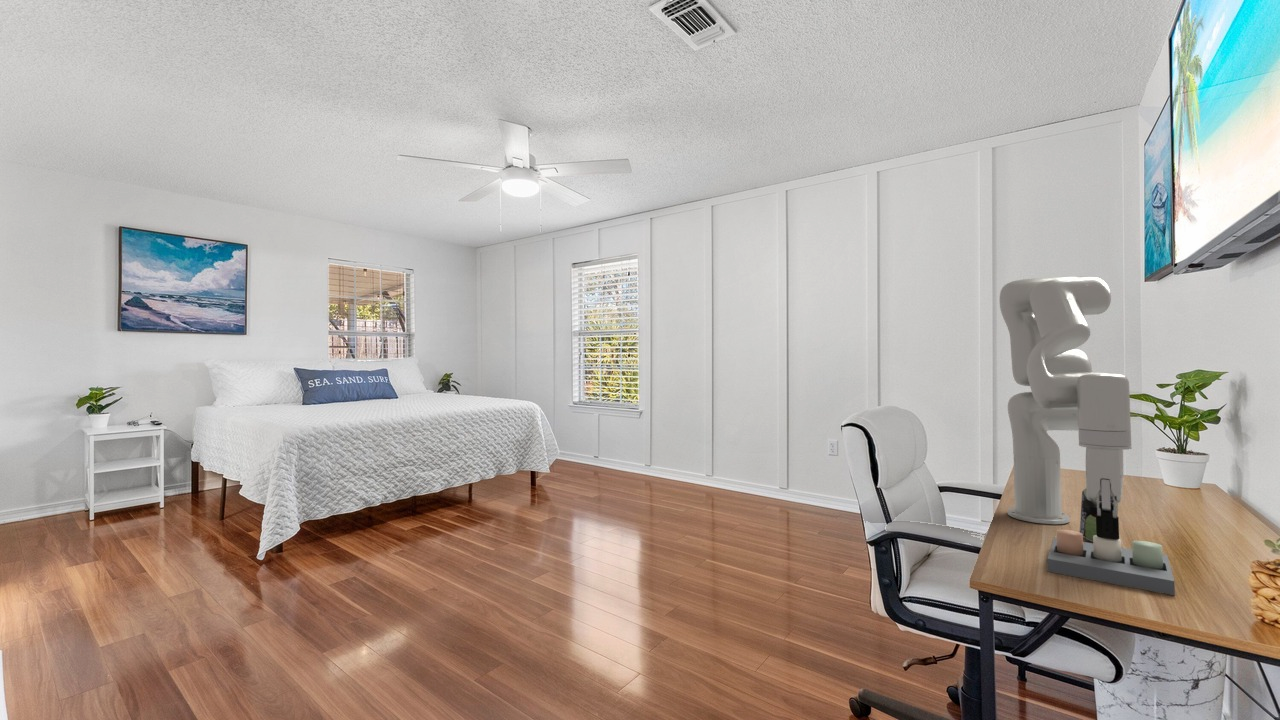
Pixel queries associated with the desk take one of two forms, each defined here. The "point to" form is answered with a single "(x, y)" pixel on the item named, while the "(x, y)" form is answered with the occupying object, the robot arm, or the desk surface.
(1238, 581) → the desk surface
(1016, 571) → the desk surface
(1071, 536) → the terracotta button
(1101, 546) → the cream button
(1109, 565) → the panel
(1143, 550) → the sage button
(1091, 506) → the beverage can
